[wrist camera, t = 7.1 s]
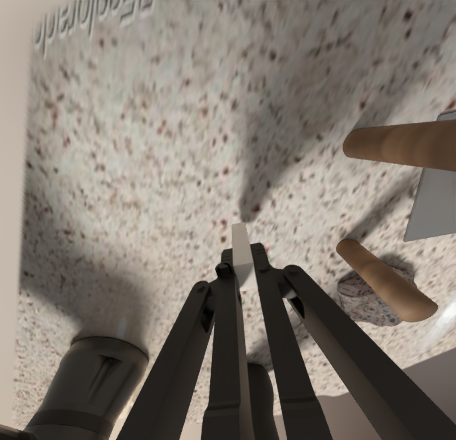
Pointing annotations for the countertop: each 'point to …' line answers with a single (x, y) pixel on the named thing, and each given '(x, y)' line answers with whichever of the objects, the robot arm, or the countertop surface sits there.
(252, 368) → the cola bottle
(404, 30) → the countertop surface
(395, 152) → the post
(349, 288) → the rock
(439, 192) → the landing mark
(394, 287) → the post
